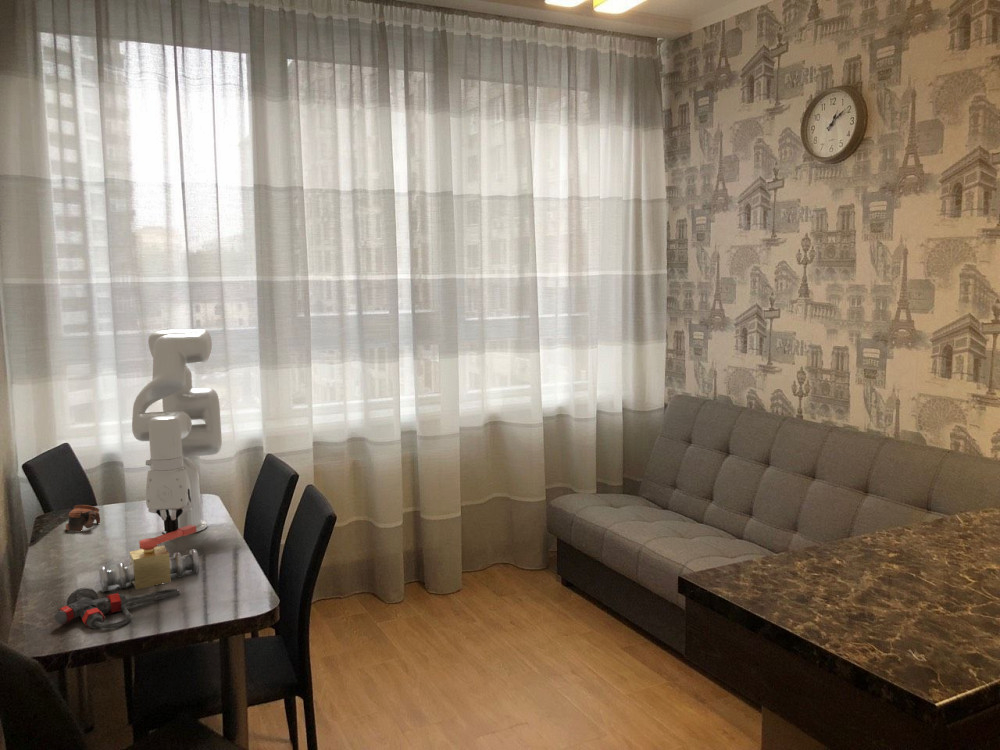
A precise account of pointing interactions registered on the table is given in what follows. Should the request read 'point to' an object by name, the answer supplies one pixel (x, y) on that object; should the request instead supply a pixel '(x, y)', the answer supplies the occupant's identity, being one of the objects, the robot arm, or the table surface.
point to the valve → (103, 606)
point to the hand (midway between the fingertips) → (171, 533)
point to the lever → (166, 537)
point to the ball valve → (149, 568)
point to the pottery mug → (82, 517)
